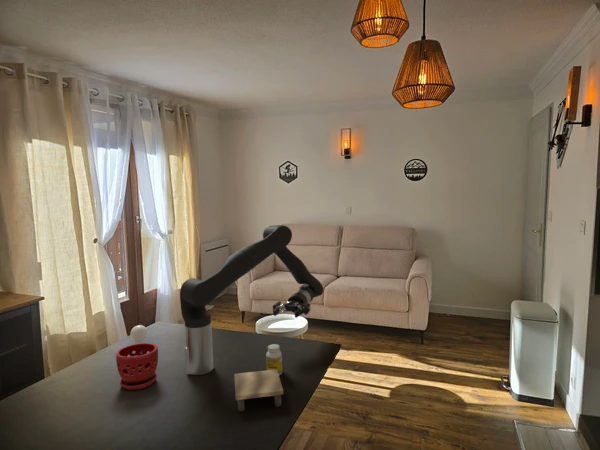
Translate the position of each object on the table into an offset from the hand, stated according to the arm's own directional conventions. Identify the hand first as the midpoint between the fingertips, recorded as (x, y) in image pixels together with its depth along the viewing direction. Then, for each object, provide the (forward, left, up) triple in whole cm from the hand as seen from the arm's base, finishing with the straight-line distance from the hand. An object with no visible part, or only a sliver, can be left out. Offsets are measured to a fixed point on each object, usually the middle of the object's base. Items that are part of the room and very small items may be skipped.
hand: (285, 314), depth 149 cm
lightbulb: (-57, +21, -18) cm, 63 cm away
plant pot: (-52, -6, -18) cm, 55 cm away
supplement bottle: (-6, -10, -18) cm, 21 cm away
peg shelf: (-13, -25, -18) cm, 33 cm away
